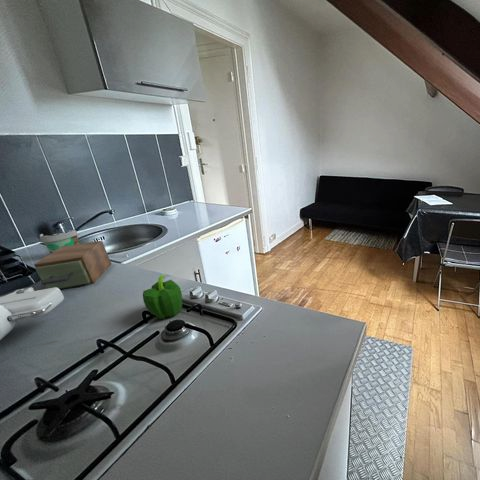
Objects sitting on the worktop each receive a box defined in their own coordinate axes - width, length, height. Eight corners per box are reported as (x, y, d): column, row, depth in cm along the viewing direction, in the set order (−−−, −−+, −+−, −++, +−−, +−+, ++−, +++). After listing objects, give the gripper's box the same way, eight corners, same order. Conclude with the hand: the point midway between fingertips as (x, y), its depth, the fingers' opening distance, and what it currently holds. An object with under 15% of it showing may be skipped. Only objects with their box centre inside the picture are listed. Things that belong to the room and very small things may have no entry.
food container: (41, 262, 103) (29, 239, 99) (51, 256, 108) (40, 233, 105) (78, 257, 106) (67, 234, 102) (86, 251, 111) (76, 229, 107)
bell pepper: (171, 325, 63) (159, 290, 59) (143, 322, 65) (130, 288, 61) (193, 304, 71) (184, 272, 67) (168, 301, 73) (157, 270, 69)
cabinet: (93, 283, 85) (81, 256, 81) (48, 291, 82) (33, 264, 78) (111, 264, 98) (102, 240, 94) (73, 270, 95) (61, 246, 91)
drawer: (82, 290, 79) (71, 267, 76) (38, 298, 77) (25, 275, 74) (106, 264, 95) (98, 245, 92) (70, 270, 92) (61, 251, 89)
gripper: (35, 301, 56) (70, 272, 68) (-95, 325, 51) (-32, 288, 63) (49, 324, 59) (80, 292, 71) (-75, 350, 53) (-18, 310, 65)
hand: (26, 290), depth 67 cm, fingers closed
